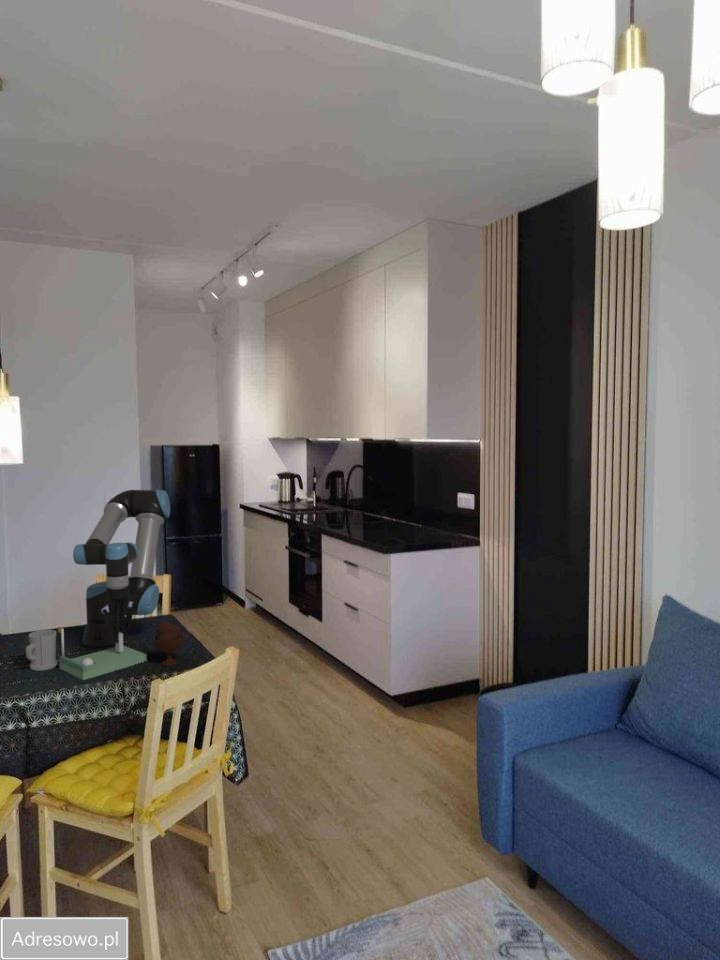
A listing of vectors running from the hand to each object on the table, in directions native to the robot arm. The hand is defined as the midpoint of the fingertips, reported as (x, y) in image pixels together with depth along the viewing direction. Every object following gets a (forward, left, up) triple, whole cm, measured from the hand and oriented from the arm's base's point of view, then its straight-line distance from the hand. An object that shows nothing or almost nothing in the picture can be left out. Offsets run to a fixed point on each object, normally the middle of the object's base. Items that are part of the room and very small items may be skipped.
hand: (119, 650), depth 243 cm
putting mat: (0, -6, -4) cm, 7 cm away
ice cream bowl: (+16, +10, -4) cm, 19 cm away
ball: (+1, -13, -1) cm, 13 cm away
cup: (-14, -21, -4) cm, 26 cm away
